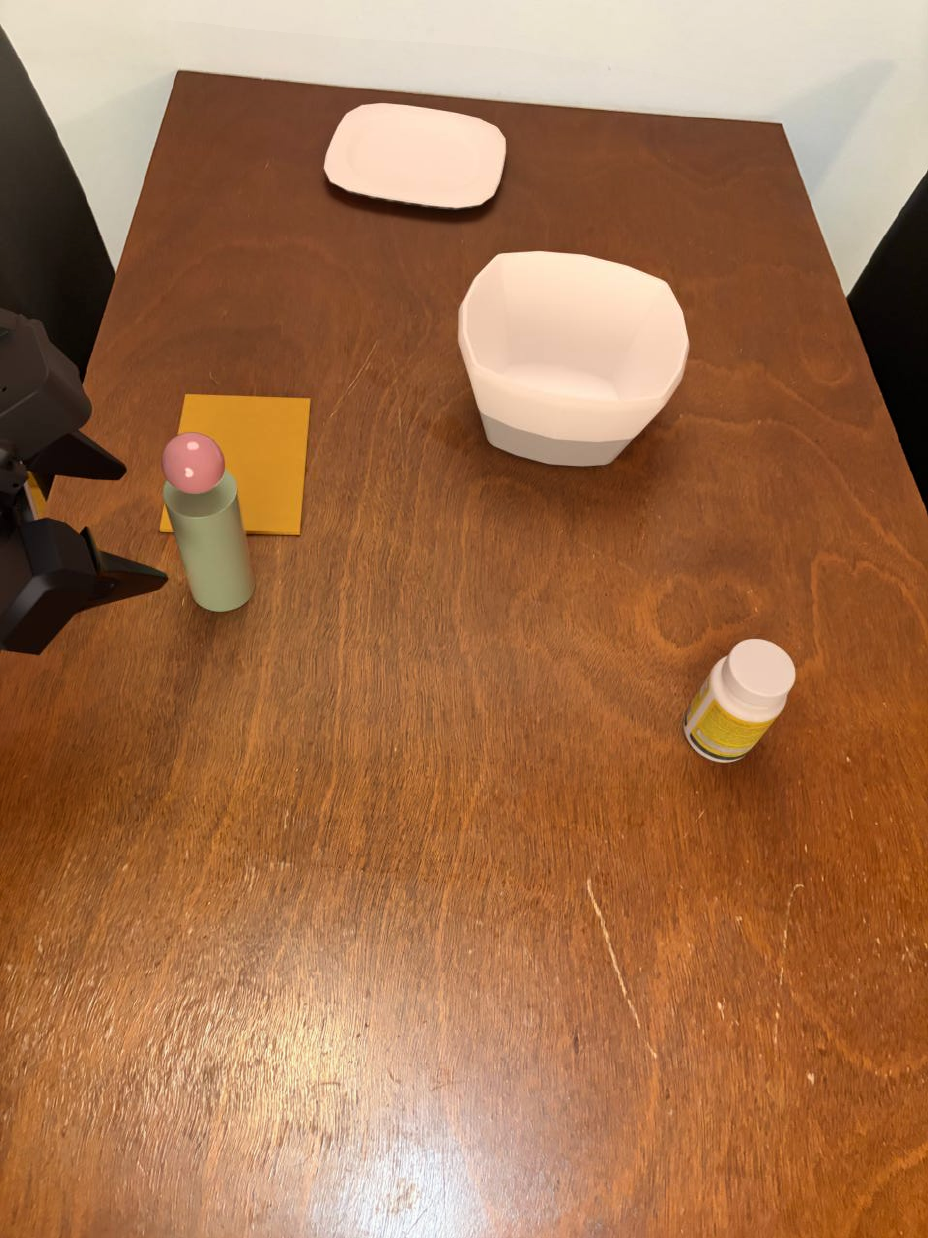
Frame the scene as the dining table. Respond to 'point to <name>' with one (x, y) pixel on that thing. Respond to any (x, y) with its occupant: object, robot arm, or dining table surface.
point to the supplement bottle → (739, 700)
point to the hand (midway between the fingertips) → (142, 525)
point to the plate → (416, 156)
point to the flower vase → (207, 522)
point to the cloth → (256, 454)
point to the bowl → (569, 354)
